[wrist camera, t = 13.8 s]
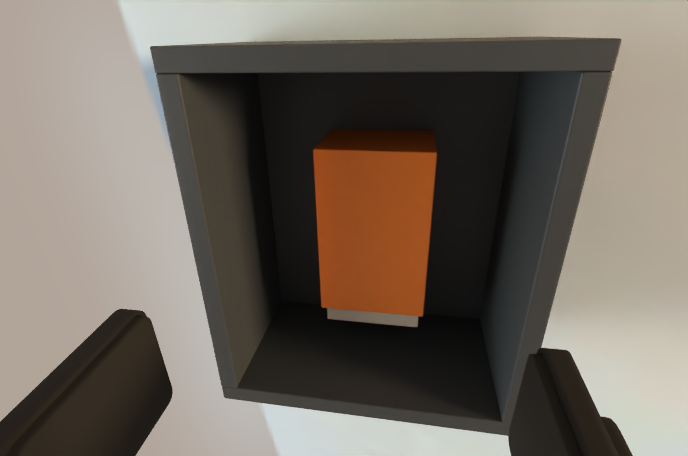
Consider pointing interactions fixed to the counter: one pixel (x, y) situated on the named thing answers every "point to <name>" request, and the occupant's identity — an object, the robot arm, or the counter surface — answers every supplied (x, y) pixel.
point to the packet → (374, 223)
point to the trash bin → (447, 216)
